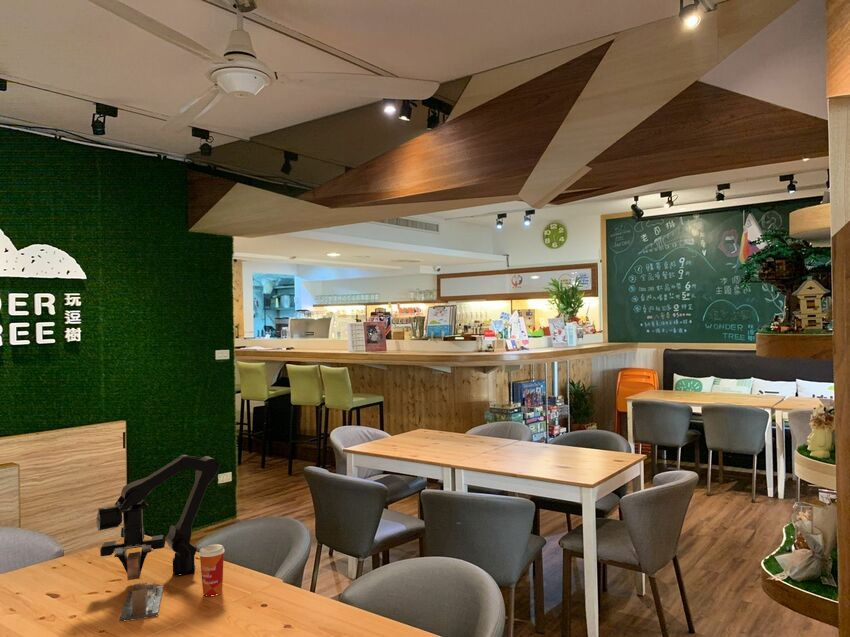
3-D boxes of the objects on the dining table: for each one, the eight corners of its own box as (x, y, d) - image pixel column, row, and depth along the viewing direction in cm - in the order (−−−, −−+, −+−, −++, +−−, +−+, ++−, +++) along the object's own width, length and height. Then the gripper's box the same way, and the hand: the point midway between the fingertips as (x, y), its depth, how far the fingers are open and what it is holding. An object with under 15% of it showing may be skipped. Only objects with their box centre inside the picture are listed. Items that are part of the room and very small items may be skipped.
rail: (163, 588, 196) (162, 563, 196) (158, 615, 177) (157, 587, 177) (128, 593, 193) (128, 568, 193) (119, 622, 174) (119, 593, 174)
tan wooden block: (141, 572, 203) (140, 551, 203) (139, 579, 197) (138, 557, 197) (129, 574, 201) (128, 553, 201) (127, 581, 196) (126, 559, 196)
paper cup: (194, 595, 190) (193, 550, 190) (213, 586, 197) (212, 542, 197) (212, 600, 186) (211, 554, 186) (231, 590, 193) (230, 545, 193)
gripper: (165, 513, 211) (166, 558, 210) (105, 520, 204) (106, 567, 204) (163, 522, 200) (164, 570, 200) (99, 530, 194) (100, 580, 194)
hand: (134, 571), depth 200 cm, fingers closed on tan wooden block, 3 cm apart
